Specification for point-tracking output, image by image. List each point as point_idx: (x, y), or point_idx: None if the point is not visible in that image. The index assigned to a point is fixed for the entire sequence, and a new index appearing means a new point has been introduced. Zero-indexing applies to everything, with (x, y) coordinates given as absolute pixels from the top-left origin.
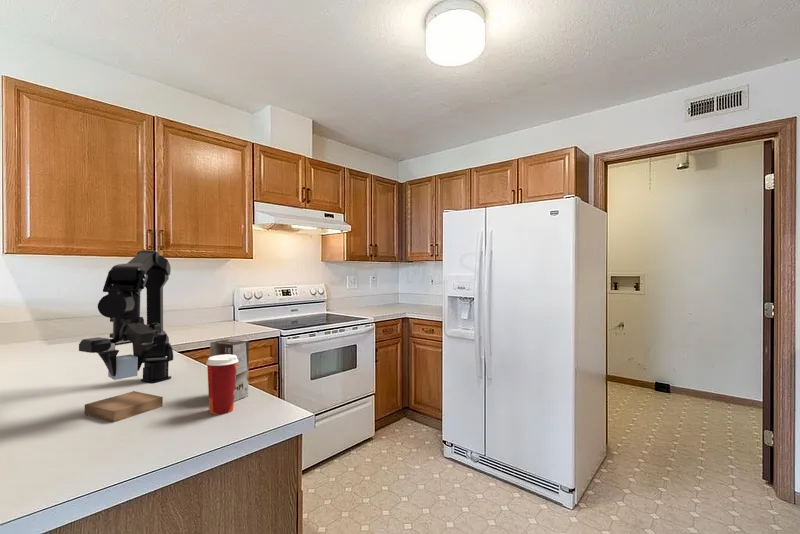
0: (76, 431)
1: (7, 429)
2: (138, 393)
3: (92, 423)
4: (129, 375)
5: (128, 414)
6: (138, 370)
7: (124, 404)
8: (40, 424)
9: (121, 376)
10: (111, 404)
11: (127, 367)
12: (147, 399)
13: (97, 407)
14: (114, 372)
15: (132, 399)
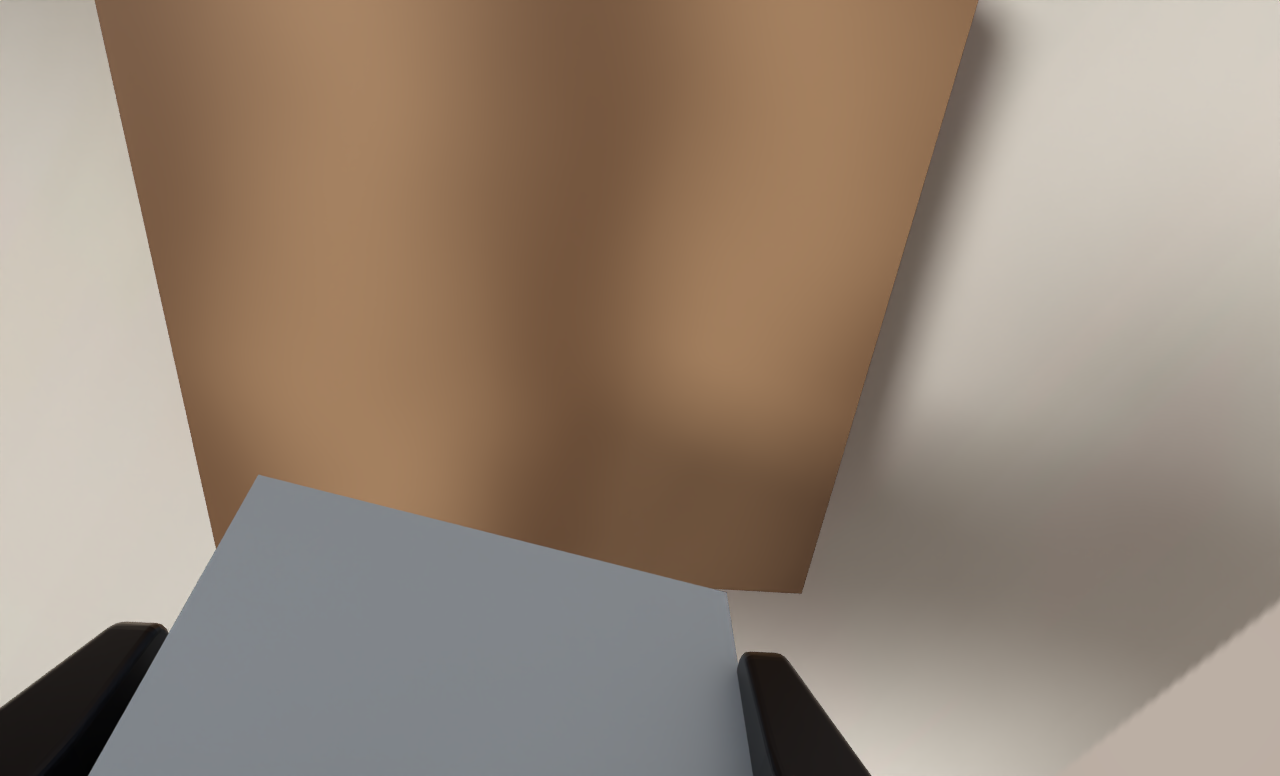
0: (1250, 119)
1: (1168, 683)
2: (237, 430)
3: (995, 196)
4: (429, 555)
5: None
6: (134, 623)
7: (661, 161)
8: (1058, 596)
9: (599, 604)
10: (717, 336)
11: (444, 767)
12: (325, 23)
13: (860, 386)
14: (806, 728)
15: (447, 268)
